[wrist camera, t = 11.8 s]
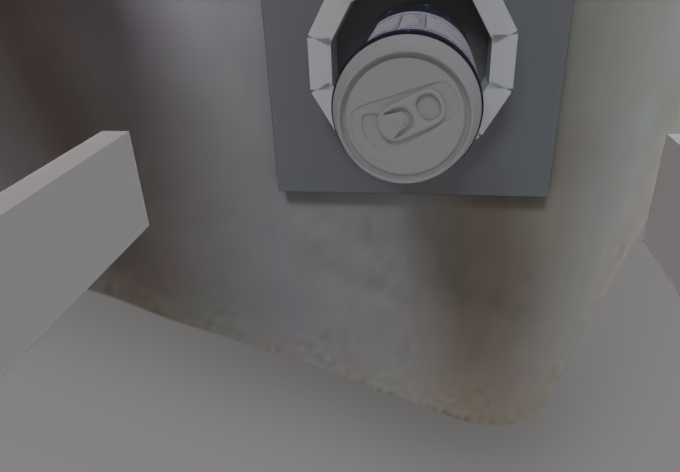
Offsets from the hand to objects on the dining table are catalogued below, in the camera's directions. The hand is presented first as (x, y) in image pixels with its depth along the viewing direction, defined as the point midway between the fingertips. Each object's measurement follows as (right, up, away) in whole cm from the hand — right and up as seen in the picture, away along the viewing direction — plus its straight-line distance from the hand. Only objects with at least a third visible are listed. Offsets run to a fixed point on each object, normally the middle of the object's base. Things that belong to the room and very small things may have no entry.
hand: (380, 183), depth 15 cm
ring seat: (+3, +9, +17) cm, 20 cm away
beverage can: (+3, +8, +17) cm, 19 cm away
